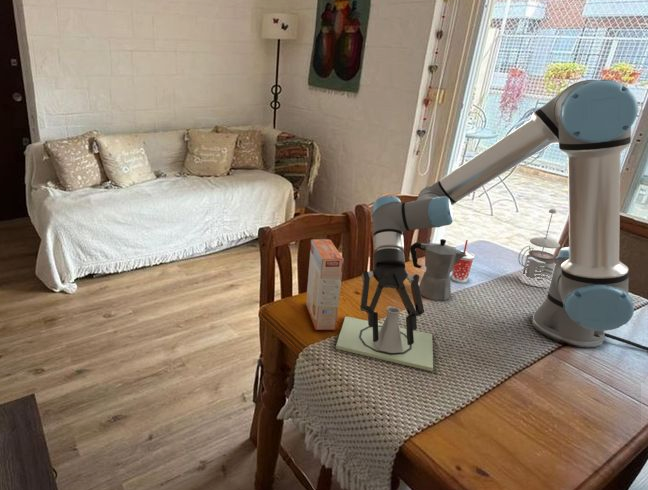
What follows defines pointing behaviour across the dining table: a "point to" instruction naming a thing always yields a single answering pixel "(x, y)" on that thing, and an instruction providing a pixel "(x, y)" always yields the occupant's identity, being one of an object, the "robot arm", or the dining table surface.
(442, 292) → the coffeepot
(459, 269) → the beverage cup
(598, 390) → the dining table surface
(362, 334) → the drawing board
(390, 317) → the flask
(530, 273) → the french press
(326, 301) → the cracker box
